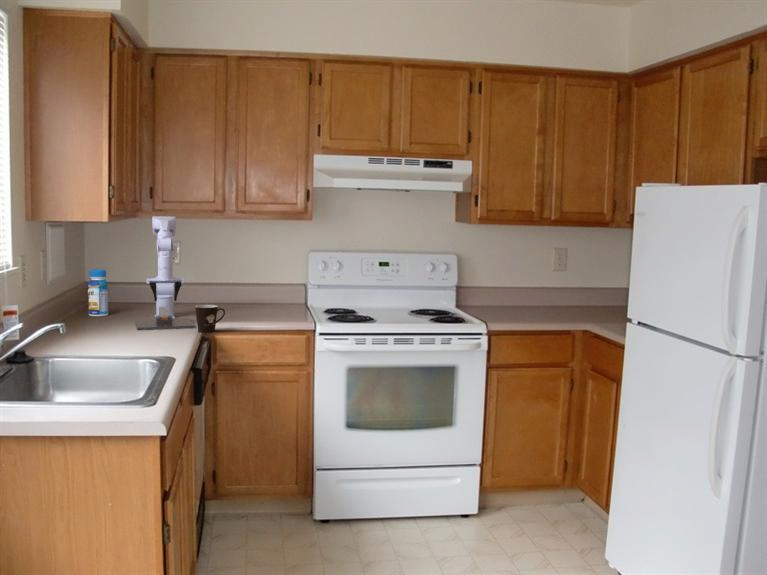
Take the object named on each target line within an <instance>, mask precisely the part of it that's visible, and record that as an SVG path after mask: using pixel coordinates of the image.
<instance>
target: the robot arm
mask: <svg viewBox="0 0 767 575" xmlns="http://www.w3.org/2000/svg"><path fill="white" fill-rule="evenodd" d="M151 218H152V219H151V220H152V222H151V223H152V226H151V227H152V236H154V237H156V238H157V240H156V253H157V276H155V277H153V278H149V277H148V278H146V284H148V286H149V287H150V290H151V292H152V295H153V297H154V302H155V309H156V311H155V313H156V314H154V315H153V316H154V317H155V318H154V319H156V316H159V307H161V306H168V307H169V315H171V316H172V318H176V316H175V314H174V302H177V299H178V295H179V292H180V290H181V287H182V284H185V278H184V277H174V276H173V274H174V272H173V267H174V266H173V263H174V262H173V260H174V258H173V255H174V254H173V253H174V247H175V246H174V244H175V243H174V237H175V236H176V235H175V234H176V229H177V218H176V216H175V215H173V216H167V215H166V216H164V215H163V216H159V215H158V216H155V215H153V216H152V217H151Z"/></svg>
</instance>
